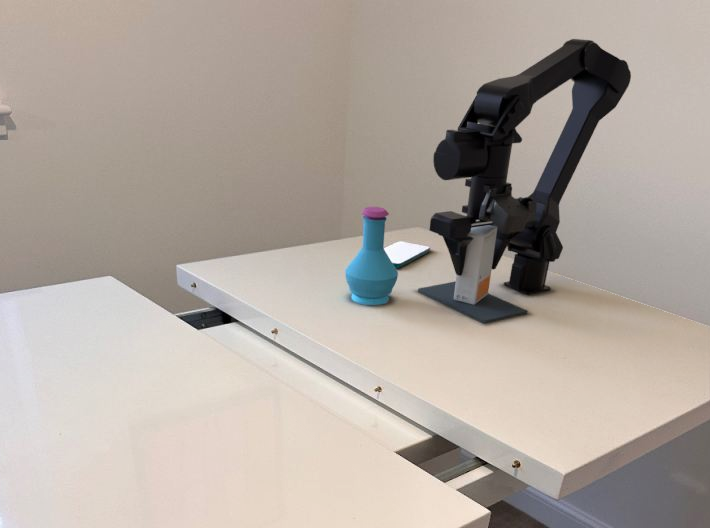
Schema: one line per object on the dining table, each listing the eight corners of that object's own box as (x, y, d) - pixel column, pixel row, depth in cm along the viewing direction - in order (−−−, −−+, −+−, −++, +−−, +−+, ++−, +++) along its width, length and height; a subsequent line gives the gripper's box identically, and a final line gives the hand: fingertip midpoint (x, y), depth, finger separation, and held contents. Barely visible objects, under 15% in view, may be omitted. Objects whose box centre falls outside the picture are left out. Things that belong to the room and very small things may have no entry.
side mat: (458, 283, 136) (459, 280, 136) (527, 313, 124) (527, 310, 124) (417, 291, 131) (418, 288, 131) (484, 324, 120) (485, 320, 119)
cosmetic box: (475, 305, 125) (483, 235, 117) (453, 300, 127) (460, 231, 119) (489, 294, 129) (498, 226, 121) (467, 289, 131) (475, 221, 123)
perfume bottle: (376, 311, 122) (381, 219, 113) (333, 298, 126) (336, 208, 118) (406, 298, 128) (413, 209, 119) (364, 286, 133) (369, 200, 124)
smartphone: (398, 245, 156) (363, 261, 144) (398, 240, 155) (364, 257, 144) (431, 251, 153) (399, 269, 141) (432, 247, 152) (399, 264, 141)
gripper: (480, 189, 106) (466, 294, 115) (566, 179, 115) (547, 277, 124) (432, 175, 113) (422, 274, 122) (517, 167, 122) (502, 260, 131)
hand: (475, 271), depth 125 cm, fingers closed on cosmetic box, 7 cm apart
